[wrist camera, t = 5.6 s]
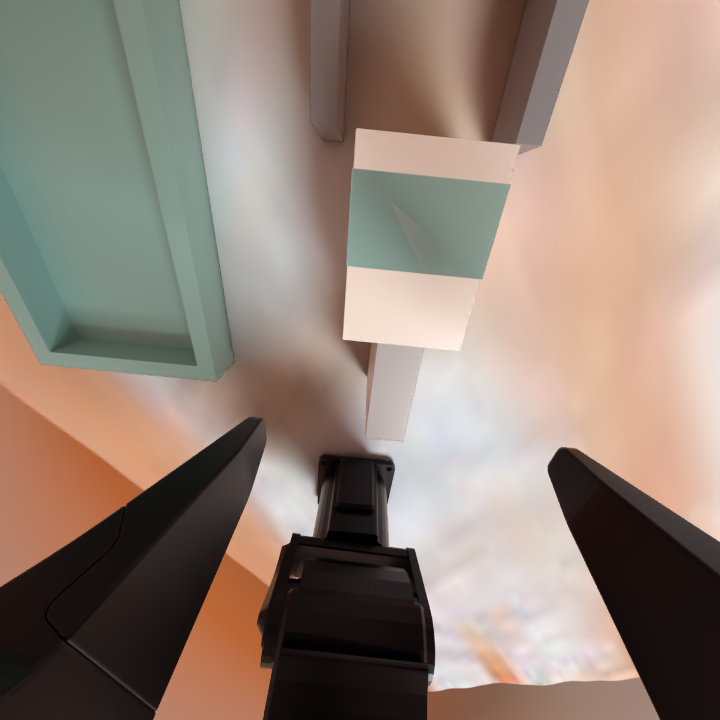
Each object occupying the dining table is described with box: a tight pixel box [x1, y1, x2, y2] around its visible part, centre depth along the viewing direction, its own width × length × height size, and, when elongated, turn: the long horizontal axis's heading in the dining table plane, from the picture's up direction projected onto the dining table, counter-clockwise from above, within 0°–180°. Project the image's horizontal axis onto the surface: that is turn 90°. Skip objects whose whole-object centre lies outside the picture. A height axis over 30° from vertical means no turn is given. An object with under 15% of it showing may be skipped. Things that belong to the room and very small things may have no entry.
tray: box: [0, 0, 234, 382], centre depth 14 cm, size 19×11×2 cm, turn 175°
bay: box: [310, 0, 589, 155], centre depth 10 cm, size 7×9×3 cm
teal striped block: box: [343, 128, 520, 442], centre depth 14 cm, size 12×5×6 cm, turn 175°
